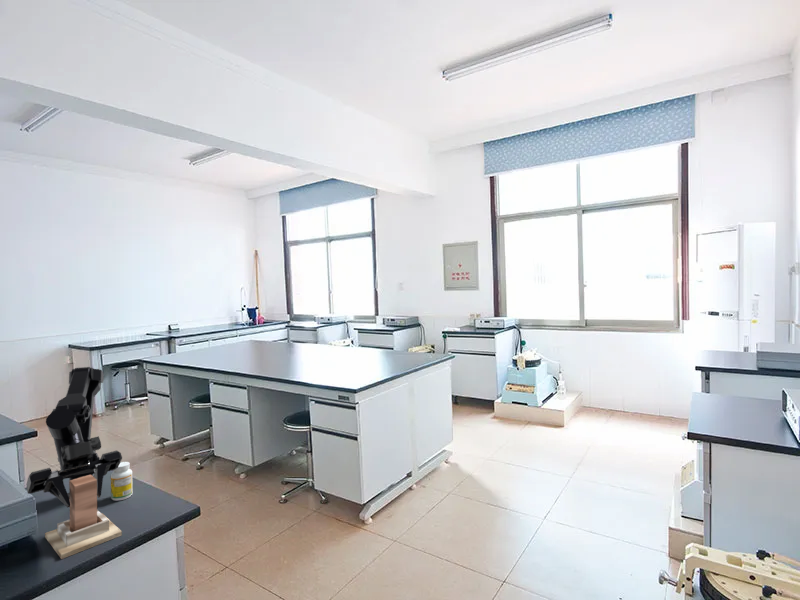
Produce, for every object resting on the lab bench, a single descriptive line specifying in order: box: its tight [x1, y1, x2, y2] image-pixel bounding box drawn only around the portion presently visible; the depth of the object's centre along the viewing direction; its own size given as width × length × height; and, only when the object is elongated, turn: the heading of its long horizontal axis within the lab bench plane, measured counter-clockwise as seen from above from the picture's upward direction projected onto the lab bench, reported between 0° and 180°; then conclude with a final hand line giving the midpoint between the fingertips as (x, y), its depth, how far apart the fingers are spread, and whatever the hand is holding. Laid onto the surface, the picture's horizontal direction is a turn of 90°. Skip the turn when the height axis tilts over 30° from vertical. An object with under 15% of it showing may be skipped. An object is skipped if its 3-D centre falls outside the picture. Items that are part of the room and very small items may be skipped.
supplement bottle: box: [110, 461, 134, 502], centre depth 125 cm, size 5×5×10 cm
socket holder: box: [44, 509, 123, 560], centre depth 105 cm, size 14×12×4 cm
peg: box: [68, 475, 98, 532], centre depth 105 cm, size 4×4×13 cm
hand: (84, 501), depth 104 cm, fingers open, 6 cm apart
